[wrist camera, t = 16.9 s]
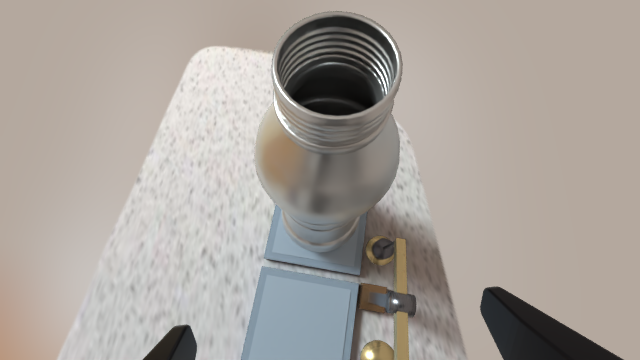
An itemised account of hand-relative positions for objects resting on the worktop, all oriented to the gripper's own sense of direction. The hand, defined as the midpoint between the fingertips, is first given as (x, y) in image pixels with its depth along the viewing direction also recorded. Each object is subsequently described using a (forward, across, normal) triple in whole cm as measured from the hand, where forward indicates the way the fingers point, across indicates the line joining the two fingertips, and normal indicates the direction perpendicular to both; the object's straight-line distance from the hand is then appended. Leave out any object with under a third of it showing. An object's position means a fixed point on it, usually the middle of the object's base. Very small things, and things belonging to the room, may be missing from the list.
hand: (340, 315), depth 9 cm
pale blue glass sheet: (+11, +2, +14) cm, 18 cm away
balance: (+12, -4, +12) cm, 18 cm away
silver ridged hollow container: (+17, 0, +7) cm, 18 cm away
